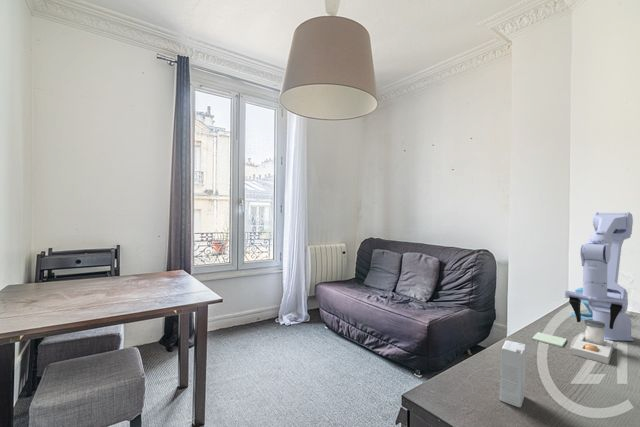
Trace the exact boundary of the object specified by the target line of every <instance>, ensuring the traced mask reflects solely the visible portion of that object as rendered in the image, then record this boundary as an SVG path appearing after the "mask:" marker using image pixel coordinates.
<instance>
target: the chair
mask: <svg viewBox="0 0 640 427" xmlns="http://www.w3.org/2000/svg"><path fill="white" fill-rule="evenodd" d="M574 292H581V293H583V287H579V288H576V289H574ZM581 303H583V305H584V306H585V308H586V310H587V309H588V310H587V311H588V313H585V312H580V313H581V318H582V319H581V320H584V319H585V320H593V311H592V310H591V309H590V307H589V305H588V304H587V300H581ZM570 315H571V316H573V317H575V318H576V315H575V312H570ZM585 320H584V321H585Z"/></svg>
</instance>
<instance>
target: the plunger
mask: <svg viewBox="0 0 640 427" xmlns="http://www.w3.org/2000/svg"><path fill="white" fill-rule="evenodd" d="M585 349H587V350H591V351H594V352H597V346H594V345H591V344H585Z"/></svg>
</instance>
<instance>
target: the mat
mask: <svg viewBox="0 0 640 427" xmlns="http://www.w3.org/2000/svg"><path fill="white" fill-rule="evenodd" d="M531 340H532V341H535V342H536V341H537V342H539V341H540V343H543V342H544V343H543V344H548V345H551V346H555V347H559V348H563V347H564V345H565V344H566V343H567V341H568V339H567V338H565V337H560V336H556V335H552V334H547V333H544V332H539V331H538V332H536V333H535V334H534V336H533V337H531Z"/></svg>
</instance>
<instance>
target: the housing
mask: <svg viewBox="0 0 640 427" xmlns="http://www.w3.org/2000/svg"><path fill="white" fill-rule="evenodd" d="M585 344H591V345H594V346H597V352H594V351H591V350H587V349H585ZM613 350H614V340H605V339H604V346H601V345H597V344H592V343H588V342H585V334H583V333H580V334H579V335H578V337H577V338H576V340H575V342H574V344H573V345H572V347H571V355H573V356H577V357H581V358H583V359H584V358H585V359H588V360H592V361H596V362H599V363H603V364H605V365H606V364H607V365H610V364H609V363H610V360H611V357H612V354H613Z"/></svg>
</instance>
